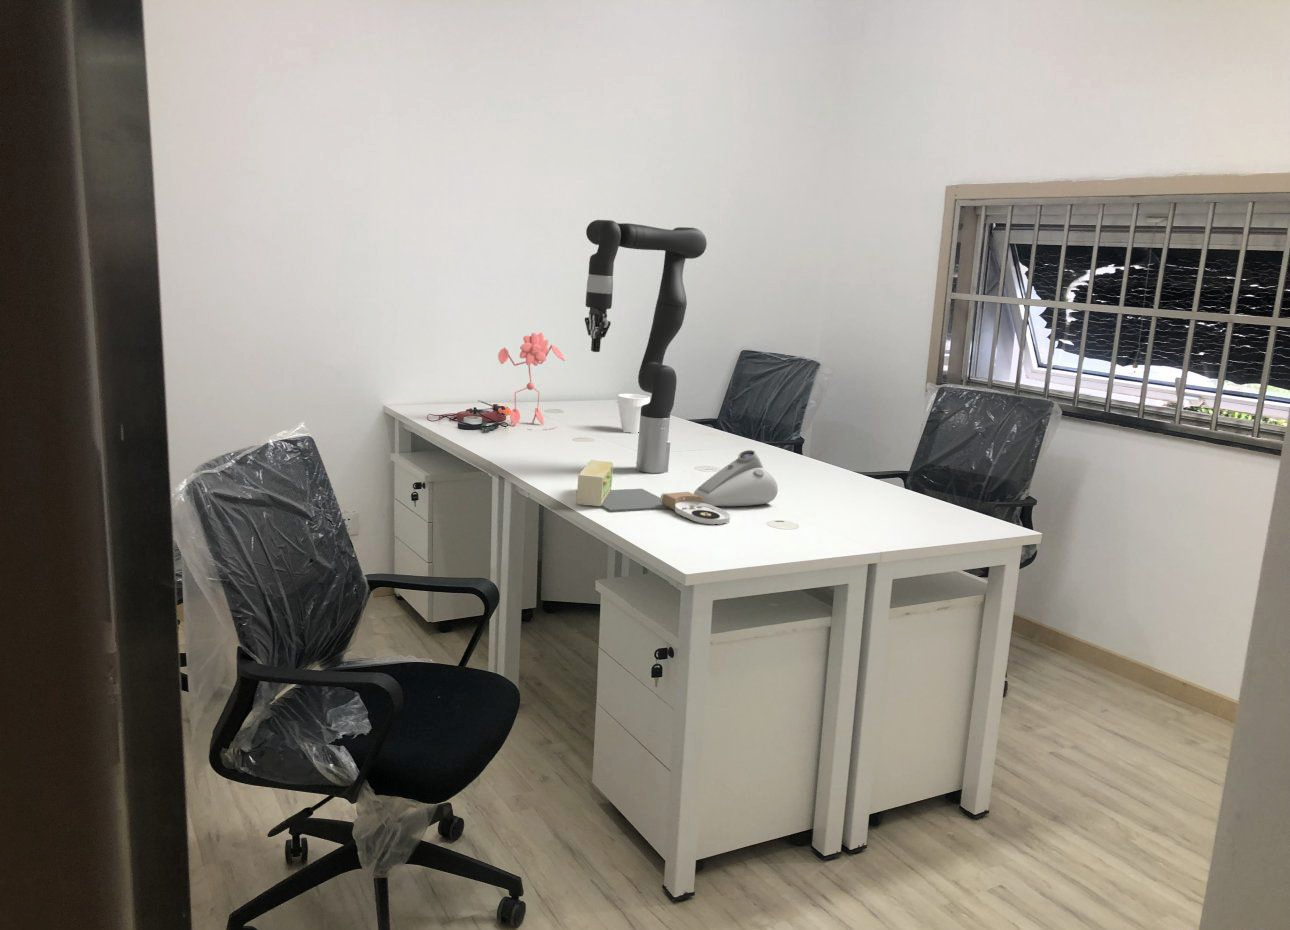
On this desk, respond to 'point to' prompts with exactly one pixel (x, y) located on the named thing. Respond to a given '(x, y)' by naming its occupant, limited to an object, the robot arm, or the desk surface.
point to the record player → (694, 508)
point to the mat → (631, 501)
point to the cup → (631, 410)
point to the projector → (739, 483)
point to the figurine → (533, 353)
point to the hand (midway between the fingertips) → (595, 351)
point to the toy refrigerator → (594, 483)
